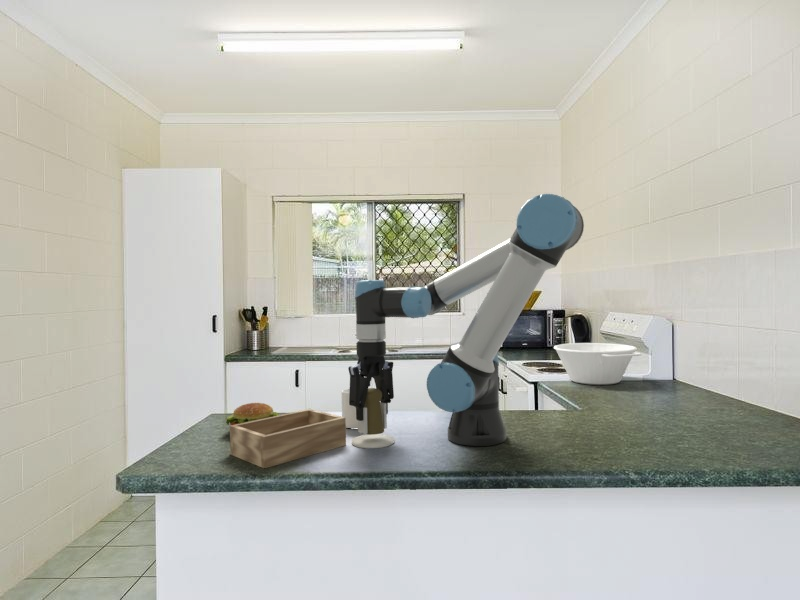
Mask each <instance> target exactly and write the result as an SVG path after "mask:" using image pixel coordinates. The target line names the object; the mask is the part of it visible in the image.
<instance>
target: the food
mask: <svg viewBox="0 0 800 600" xmlns="http://www.w3.org/2000/svg"><path fill="white" fill-rule="evenodd" d="M278 415H279V413H278V412H276V411H274V409H273V407H272V406H270V404H267V403H261V402H249V403H245V404H242V405H240V406H238V407H236V408H235V409H234V410H233V413H231V415H229V416H228V417H227V416H225V421H226V423H225V424H226V425H227V426H231V425H236V424H240V423H245V422H250V421H255V420H259V419H264V418H269V417H273V416H278ZM229 424H230V425H229Z"/></svg>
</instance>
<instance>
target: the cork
mask: <svg viewBox="0 0 800 600" xmlns="http://www.w3.org/2000/svg"><path fill="white" fill-rule="evenodd" d="M381 399H382V392H381V391H380V390H379V389H376V387H375V388H373V387H368V392H367V397H366V401H365V406H364V407H366V408H367V431H368V433H367V434H369V435H373V434H383V433H384V432H385V429H384V426H383V419H382V412H381V406H380V402H381V401H380V400H381ZM367 434H366V435H367Z"/></svg>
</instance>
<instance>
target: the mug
mask: <svg viewBox="0 0 800 600" xmlns="http://www.w3.org/2000/svg"><path fill="white" fill-rule="evenodd" d="M349 393H350V388H344V389H342V390H341V417H345V422H346V428H358V420H357V419H356V407H354V406H351V405H349Z"/></svg>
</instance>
